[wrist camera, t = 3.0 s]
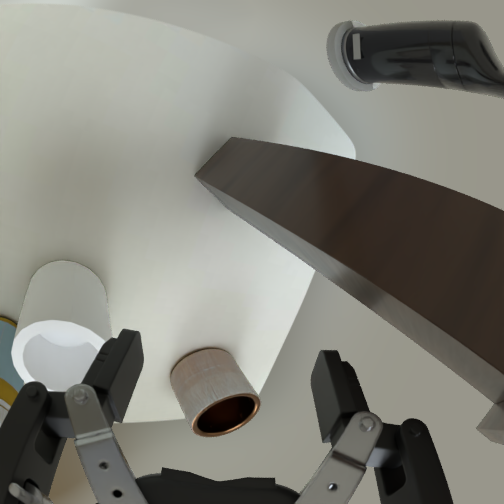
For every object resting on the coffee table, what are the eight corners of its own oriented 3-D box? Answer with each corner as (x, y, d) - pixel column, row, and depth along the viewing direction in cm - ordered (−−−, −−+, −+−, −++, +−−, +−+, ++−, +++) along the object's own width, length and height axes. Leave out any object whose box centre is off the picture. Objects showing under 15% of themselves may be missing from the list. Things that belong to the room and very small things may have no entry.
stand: (177, 180, 29) (532, 452, 3) (235, 121, 29) (612, 223, 3) (225, 224, 34) (491, 441, 8) (275, 169, 34) (565, 305, 8)
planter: (168, 352, 37) (190, 404, 30) (237, 340, 43) (268, 383, 35) (170, 398, 41) (190, 444, 34) (229, 385, 47) (255, 425, 39)
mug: (71, 361, 30) (77, 426, 22) (7, 326, 24) (-7, 391, 16) (123, 291, 31) (138, 353, 22) (52, 242, 24) (35, 297, 16)
